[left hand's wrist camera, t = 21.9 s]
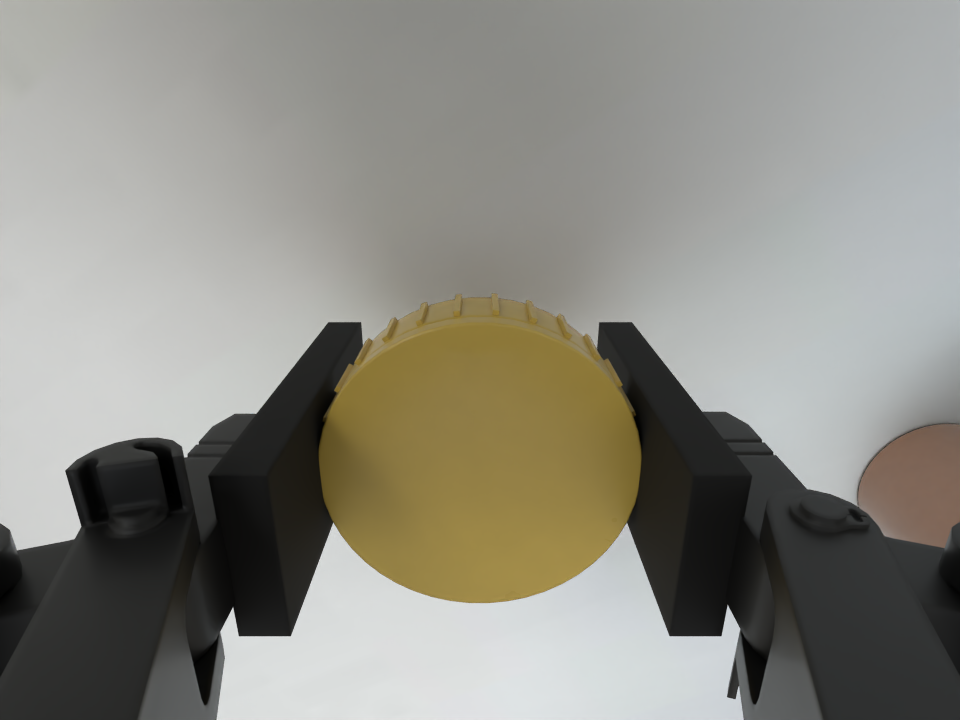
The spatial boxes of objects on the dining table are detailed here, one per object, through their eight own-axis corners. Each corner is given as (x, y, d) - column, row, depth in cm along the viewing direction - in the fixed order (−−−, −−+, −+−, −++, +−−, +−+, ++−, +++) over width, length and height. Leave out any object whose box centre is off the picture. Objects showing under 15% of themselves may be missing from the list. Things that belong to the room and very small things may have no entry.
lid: (582, 570, 13) (595, 628, 11) (320, 526, 12) (298, 580, 11) (664, 326, 11) (692, 356, 9) (354, 263, 10) (333, 286, 9)
